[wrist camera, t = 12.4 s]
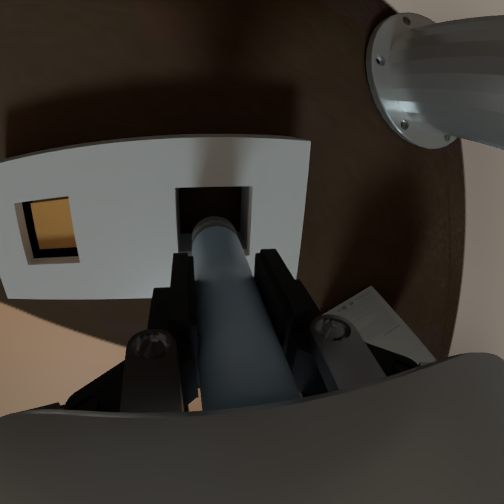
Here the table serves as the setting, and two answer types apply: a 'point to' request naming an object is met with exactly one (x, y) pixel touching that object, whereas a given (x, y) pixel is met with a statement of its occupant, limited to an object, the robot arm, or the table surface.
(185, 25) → the table surface
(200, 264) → the light blue rod
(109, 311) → the table surface
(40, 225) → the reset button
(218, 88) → the table surface
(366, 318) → the small box
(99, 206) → the white board with holes
